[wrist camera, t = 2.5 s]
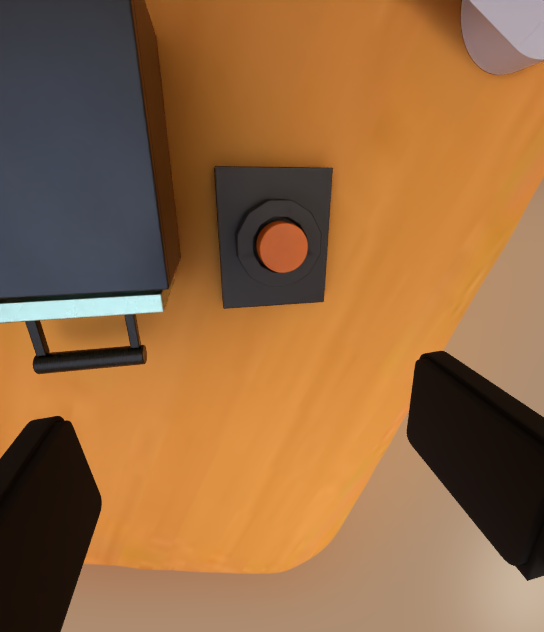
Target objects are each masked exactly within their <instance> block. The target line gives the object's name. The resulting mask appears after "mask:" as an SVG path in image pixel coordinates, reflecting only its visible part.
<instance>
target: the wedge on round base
mask: <svg viewBox="0 0 544 632" xmlns="http://www.w3.org/2000/svg"><path fill="white" fill-rule="evenodd" d="M461 29H462V34H463V39H464V43H465V46H466V48H467V51H468V53H469V55H470V56H471V58H472V60H473V61H474V62H475V63H476V64H477V65H478V66H479V67H480V68H481V69H483V70H484V71H486V72H488V73H491V74H495V75H506V74H510V73H514V72H516V71H519V70H522V69H524V68H527V67H530V66H532V65H535V64H538V63H540V62H543V61H544V0H462V5H461Z"/></svg>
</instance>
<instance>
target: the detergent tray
mask: <svg viewBox="0 0 544 632" xmlns="http://www.w3.org/2000/svg"><path fill="white" fill-rule="evenodd" d="M174 281H175V277H173V279H172V282H171V285H170V287H169V289H165V290H146V291H128V292H110V293H92V294H74V295H55V296H37V297H19V298H1V299H0V323H9V322H24V321H25V322H26V325H27V328H28V331H29V334H30V337H31V340H32V343H33V347H34V350H35V353H36V356H35V357H34V360H33V368H34V371H35V372H36V373H37V374H45V373H55V372H66V371H76V370H87V369H97V368H108V367H118V366H129V365H140V364H145V363H146V360H147V351H146V347H145V345H141V341H140V336H139V330H138V325H137V319H136V314H143V313H157V312H164V309H165V307H166V304H167V301H168V298H169V295H170V292H171V289H172V287H173V284H174ZM113 315H125V320H126V325H127V331H128V336H129V341H130V346H124V347H112V348H100V349H88V350H76V351H65V352H53V353H49V348H48V345H47V341H46V338H45V335H44V332H43V329H42V325H41V322H40V320H53V319H68V318H83V317H98V316H113Z"/></svg>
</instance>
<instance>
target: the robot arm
mask: <svg viewBox="0 0 544 632" xmlns="http://www.w3.org/2000/svg"><path fill="white" fill-rule="evenodd" d="M407 437H408V440H409V442H410V444H411V445H412V446H413V448H414V449H415V450H416V451H417V452H418V454H419V455H420V456H421V457H422V459H423V460H424V461H425V462H426V464H427V465H428V466H429V467H430V468H431V470H432V471H433V472H434V473H435V475H436V476H437V477H438V478H439V480H440V481H441V482H442V483H443V485H444V486H445V487H446V488H447V490H448V491H449V492H450V493H451V495H452V496H453V497H454V498H455V499H456V501H457V502H458V503H459V504H460V506H461V507H462V508H463V509H464V510H465V512H466V513H467V514H468V515H469V517H470V518H471V519H472V520H473V522H474V523H475V524H476V525H477V527H478V528H479V529H480V530H481V532H482V533H483V534H484V535H485V537H486V538H487V539H488V540H489V541H490V543H491V544H492V545H493V546H494V548H495V549H496V550H497V551H498V552H499V554H500V555H501V556H502V557H503V559H504V560H505V561H507V562H508V563H509V564H511V565H513V566H516V567H517V569H518V570H519V571H520V572H521V574H522V575H523V576H524V577H525V578H526V580H527V581H528V580H531V579H534V578H538V577H541V576H544V417H542V416H541V415H539V414H538V413H536V412H535V411H533V410H532V409H530V408H529V407H527V406H526V405H524V404H523V403H521V402H520V401H518V400H517V399H515V398H514V397H512V396H511V395H509V394H508V393H506V392H505V391H503V390H502V389H500V388H499V387H497V386H496V385H494V384H493V383H491V382H490V381H488V380H487V379H485V378H484V377H482V376H481V375H479V374H478V373H476V372H475V371H474V370H472V369H471V368H469V367H468V366H466V365H465V364H463V363H462V362H460V361H459V360H457V359H456V358H454V357H453V356H451V355H450V354H448V353H447V352H444V351H437V352H431V353H425V354H422V355H421V357H420V359H419V360H417V361H416V364H415V370H414V378H413V385H412V393H411V401H410V409H409V418H408V425H407ZM101 505H102V501H101V495H100V493H99V490H98V488H97V485H96V483H95V480H94V478H93V475H92V473H91V470H90V468H89V465H88V463H87V460H86V458H85V455H84V453H83V450H82V448H81V445H80V443H79V440H78V438H77V435H76V433H75V430H74V428H73V425H72V423H71V422H70V421H64V419H63V418H62V417H60V416H55V417H49V418H43V419H37V420H32V421H30V422H29V423H28V424H27V425H26V426H25V428H24V429H23V430H22V432H21V433H20V434H19V435H18V437H17V438H16V439H15V441H14V442H13V443H12V444H11V446H10V447H9V448H8V450H7V451H6V452H5V453H4V455H3V456H2V457H1V459H0V632H61V629H62V626H63V623H64V620H65V617H66V614H67V611H68V608H69V605H70V602H71V599H72V596H73V593H74V589H75V587H76V584H77V581H78V577H79V575H80V572H81V569H82V566H83V563H84V560H85V557H86V554H87V551H88V548H89V545H90V542H91V539H92V536H93V533H94V530H95V527H96V524H97V521H98V518H99V515H100V511H101Z"/></svg>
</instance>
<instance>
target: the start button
mask: <svg viewBox="0 0 544 632" xmlns="http://www.w3.org/2000/svg"><path fill="white" fill-rule="evenodd" d="M256 248H257V253H258V255H259V257H260V259H261V260H262V261H263V263H264V264H265V265H266V266H267V267H268V268H269V269H271V270H272V271H275V272H279V273H287V272H290V271H293V270H295V269H296V268H298V267H299V266H300V265H301V264H302V263H303V261H304V260H305V258H306V255H307V251H308V242H307V238H306V236H305V234H304V232H303V231H302V230H301V229H300V228H299V227H297V226H296V225H294V224H291V223H289V222H286V221H274V222H271V223H269V224H267V225H266V226H265V227H264V228H263V229H262V230H261V232H260V233H259V235H258V238H257V242H256Z"/></svg>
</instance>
